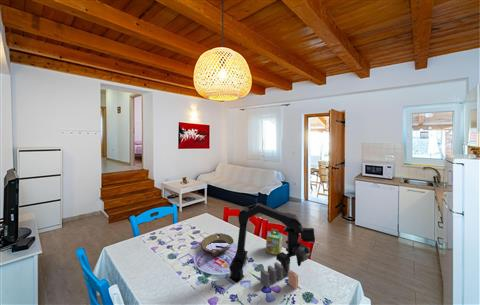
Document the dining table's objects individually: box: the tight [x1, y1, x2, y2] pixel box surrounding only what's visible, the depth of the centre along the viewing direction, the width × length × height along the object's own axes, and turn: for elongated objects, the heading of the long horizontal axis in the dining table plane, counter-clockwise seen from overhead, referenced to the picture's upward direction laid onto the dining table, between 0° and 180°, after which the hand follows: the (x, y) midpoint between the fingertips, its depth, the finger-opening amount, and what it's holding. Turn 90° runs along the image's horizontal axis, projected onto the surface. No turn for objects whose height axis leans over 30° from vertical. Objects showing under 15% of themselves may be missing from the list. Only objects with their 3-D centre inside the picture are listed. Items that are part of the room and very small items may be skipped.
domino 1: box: [260, 268, 270, 289], centre depth 108 cm, size 2×5×7 cm, turn 33°
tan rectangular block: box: [287, 269, 299, 290], centre depth 107 cm, size 2×5×7 cm, turn 34°
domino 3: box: [273, 261, 284, 281], centre depth 114 cm, size 2×5×7 cm, turn 33°
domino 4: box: [280, 262, 291, 278], centre depth 117 cm, size 2×5×7 cm, turn 34°
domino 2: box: [267, 265, 278, 285], centre depth 111 cm, size 2×5×7 cm, turn 33°
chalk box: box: [265, 228, 283, 256], centre depth 140 cm, size 9×9×15 cm
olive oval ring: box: [200, 232, 235, 257], centre depth 142 cm, size 22×30×8 cm
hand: (293, 269), depth 107 cm, fingers open, 9 cm apart
